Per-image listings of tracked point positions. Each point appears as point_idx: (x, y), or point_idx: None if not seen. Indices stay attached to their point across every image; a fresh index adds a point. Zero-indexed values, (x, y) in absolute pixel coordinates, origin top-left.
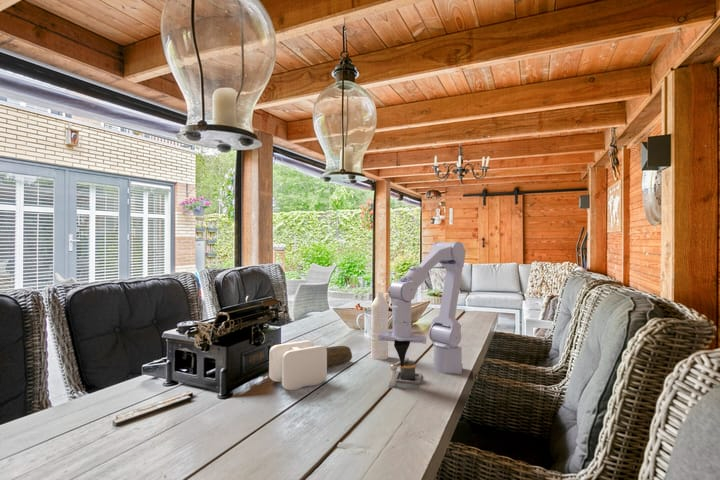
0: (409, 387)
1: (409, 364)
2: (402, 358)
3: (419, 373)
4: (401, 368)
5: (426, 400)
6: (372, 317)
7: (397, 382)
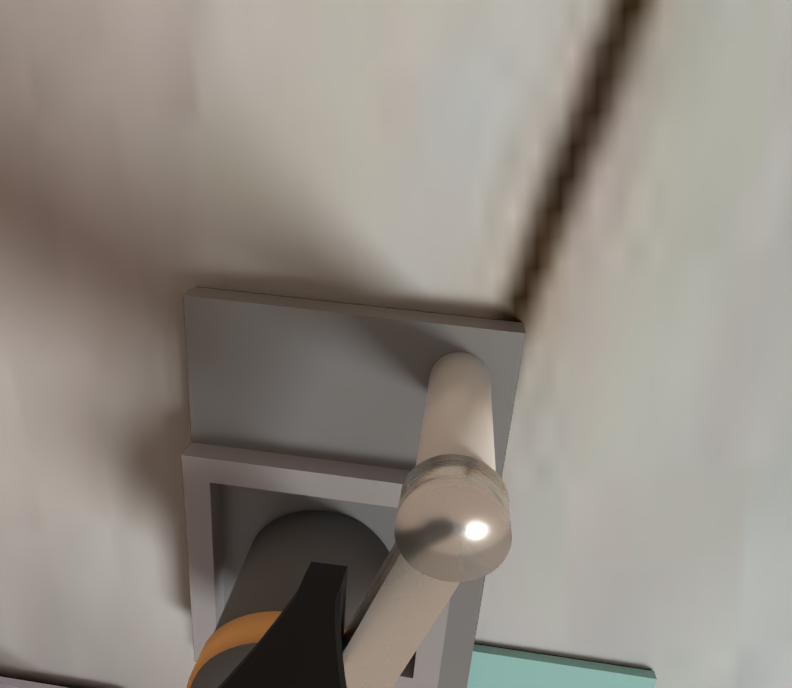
0: (284, 361)
1: None
2: (283, 650)
3: None
4: None
5: (90, 115)
6: None
7: None
